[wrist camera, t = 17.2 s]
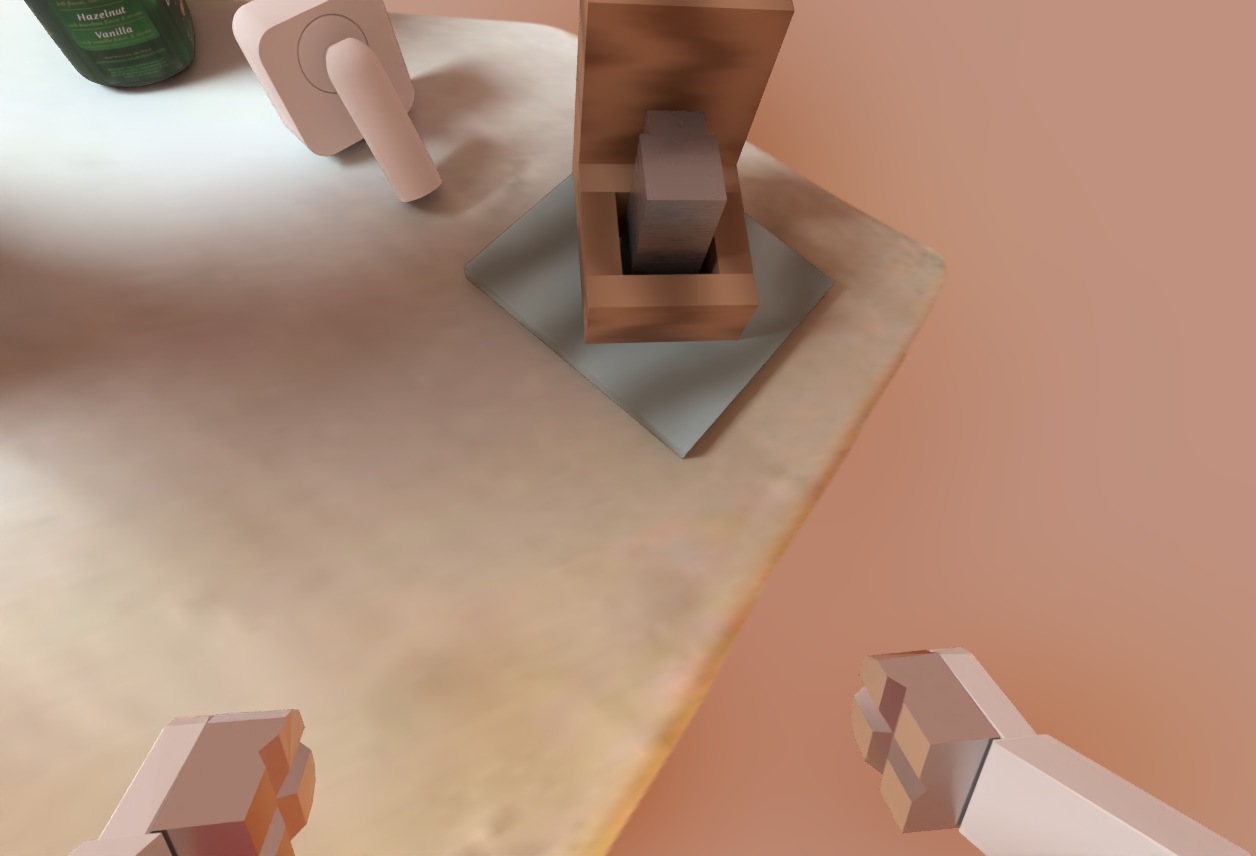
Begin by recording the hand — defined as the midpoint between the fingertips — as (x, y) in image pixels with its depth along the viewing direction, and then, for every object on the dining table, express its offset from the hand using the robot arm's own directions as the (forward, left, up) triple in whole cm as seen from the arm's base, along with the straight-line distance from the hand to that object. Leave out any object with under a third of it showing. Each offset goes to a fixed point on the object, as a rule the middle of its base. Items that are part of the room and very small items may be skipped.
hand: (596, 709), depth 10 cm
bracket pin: (-12, +21, -26) cm, 36 cm away
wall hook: (-32, +17, -28) cm, 45 cm away
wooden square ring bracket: (-12, +22, -27) cm, 37 cm away
